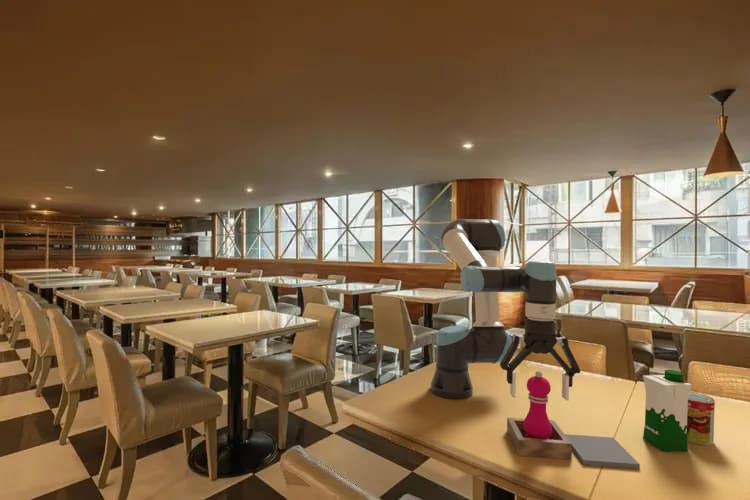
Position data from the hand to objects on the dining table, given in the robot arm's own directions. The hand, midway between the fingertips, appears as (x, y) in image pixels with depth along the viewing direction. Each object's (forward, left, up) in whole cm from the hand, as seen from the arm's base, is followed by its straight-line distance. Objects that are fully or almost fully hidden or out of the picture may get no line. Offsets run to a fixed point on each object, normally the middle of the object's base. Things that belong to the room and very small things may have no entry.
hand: (538, 397), depth 104 cm
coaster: (+15, -2, -13) cm, 20 cm away
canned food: (+46, +10, -13) cm, 49 cm away
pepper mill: (0, 0, -13) cm, 13 cm away
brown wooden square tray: (0, 0, -13) cm, 13 cm away
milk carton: (+35, +5, -13) cm, 38 cm away
